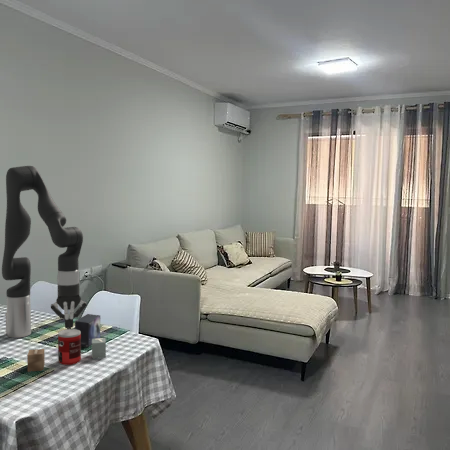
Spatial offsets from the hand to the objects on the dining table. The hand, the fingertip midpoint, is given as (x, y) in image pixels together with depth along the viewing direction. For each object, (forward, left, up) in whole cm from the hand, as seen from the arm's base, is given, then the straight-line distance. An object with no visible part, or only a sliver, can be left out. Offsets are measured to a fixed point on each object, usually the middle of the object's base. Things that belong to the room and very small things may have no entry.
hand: (69, 328), depth 164 cm
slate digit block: (+6, +9, -13) cm, 17 cm away
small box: (-7, +18, -13) cm, 23 cm away
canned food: (0, 0, -13) cm, 13 cm away
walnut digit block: (-6, -10, -13) cm, 17 cm away
